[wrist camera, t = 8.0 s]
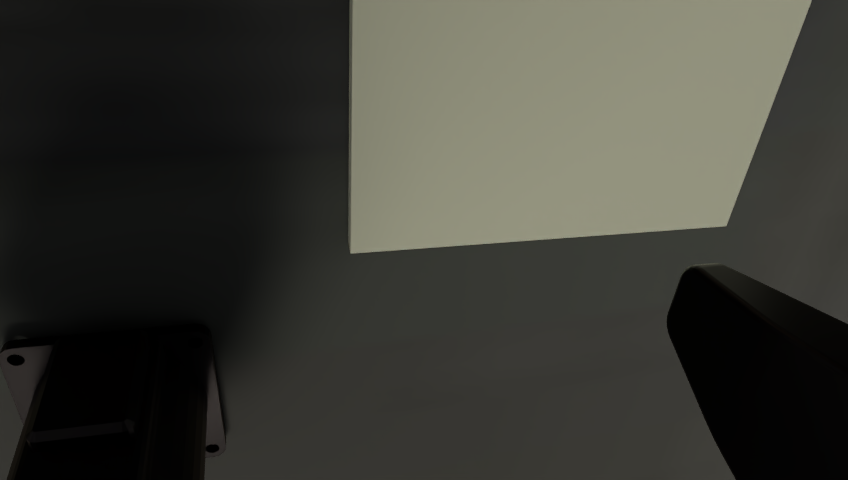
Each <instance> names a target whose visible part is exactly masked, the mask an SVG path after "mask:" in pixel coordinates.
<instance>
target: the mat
mask: <svg viewBox="0 0 848 480" xmlns="http://www.w3.org/2000/svg"><path fill="white" fill-rule="evenodd" d="M811 1H812V0H350V26H349V193H348V244H349V249H350V253H365V252H379V251H392V250H406V249H420V248H433V247H447V246H461V245H474V244H488V243H502V242H516V241H529V240H543V239H557V238H570V237H584V236H598V235H611V234H625V233H639V232H652V231H666V230H680V229H693V228H707V227H721V226H726V225H727V223H728V220H729V217H730V215H731V212H732V209H733V207H734V204H735V201H736V199H737V196H738V194H739V191H740V188H741V186H742V183H743V180H744V178H745V175H746V172H747V170H748V167H749V165H750V162H751V159H752V157H753V154H754V151H755V149H756V146H757V143H758V141H759V138H760V136H761V133H762V130H763V128H764V125H765V122H766V120H767V117H768V114H769V112H770V109H771V107H772V104H773V101H774V99H775V96H776V93H777V91H778V88H779V85H780V83H781V80H782V78H783V75H784V72H785V70H786V67H787V64H788V62H789V59H790V56H791V54H792V51H793V49H794V46H795V43H796V41H797V38H798V35H799V33H800V30H801V27H802V25H803V22H804V20H805V17H806V14H807V12H808V9H809V6H810V4H811Z"/></svg>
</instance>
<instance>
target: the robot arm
mask: <svg viewBox="0 0 848 480" xmlns="http://www.w3.org/2000/svg"><path fill="white" fill-rule="evenodd" d="M667 329H668V333H669V336H670V339H671V341H672V343H673V346H674V348H675V350H676V353H677V355H678V357H679V360H680V362H681V364H682V367H683V369H684V372H685V374H686V376H687V379H688V381H689V383H690V386H691V388H692V390H693V393H694V395H695V397H696V400H697V402H698V404H699V407H700V409H701V411H702V414H703V416H704V418H705V421H706V423H707V425H708V427H709V429H710V432H711V434H712V436H713V438H714V440H715V442H716V444H717V446H718V448H719V450H720V452H721V453H722V455H723V457H724V459H725V461H726V463H727V465H728V466H729V468H730V470H731V472H732V474H733V475H734V477H735V479H736V480H848V324H846V323H844V322H842V321H840V320H838V319H836V318H834V317H832V316H830V315H828V314H826V313H823V312H821V311H819V310H817V309H815V308H813V307H811V306H809V305H807V304H805V303H803V302H800V301H798V300H796V299H794V298H792V297H790V296H788V295H786V294H784V293H782V292H779V291H777V290H775V289H773V288H771V287H769V286H767V285H765V284H763V283H761V282H759V281H756V280H754V279H752V278H750V277H748V276H746V275H744V274H742V273H740V272H738V271H735V270H733V269H731V268H729V267H727V266H725V265H722V264H718V263H711V264H699V265H692V266H689V267H687V268H686V269H685V270H684V271H683V273H682V275H681V277H680V280H679V283H678V286H677V289H676V292H675V295H674V297H673V300H672V303H671V306H670V309H669V312H668V315H667ZM193 337H198V338H200V340H192V339H190V338H193ZM12 354H18V355H21V356H23V357H16V356H14V355H12ZM0 366H1V369H2V372H3V374H4V377H5V379H6V382H7V384H8V387H9V389H10V392H11V395H12V397H13V400H14V402H15V405H16V407H17V410H18V412H19V415H20V417H21V420H22V423H23V425H24V426H23V429H22V432H21V436H20V439H19V442H18V445H17V448H16V451H15V455H14V458H13V461H12V464H11V467H10V470H9V474H8V477H7V480H204V473H205V458H209V457H215V456H219V455H221V454H222V453H223V452H224V451H225V450H226V434H225V427H224V421H223V414H222V407H221V400H220V393H219V386H218V379H217V372H216V365H215V359H214V352H213V345H212V338H211V333H210V330H209V329H208V328H207V327H206V326H204V325H201V324H186V325H175V326H164V327H153V328H142V329H131V330H120V331H109V332H98V333H87V334H76V335H65V336H54V337H43V338H32V339H21V340H13V341H9V342H7V343H6V344H4V345H3V347H2V349H1V352H0ZM213 444H214V445H213Z"/></svg>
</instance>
